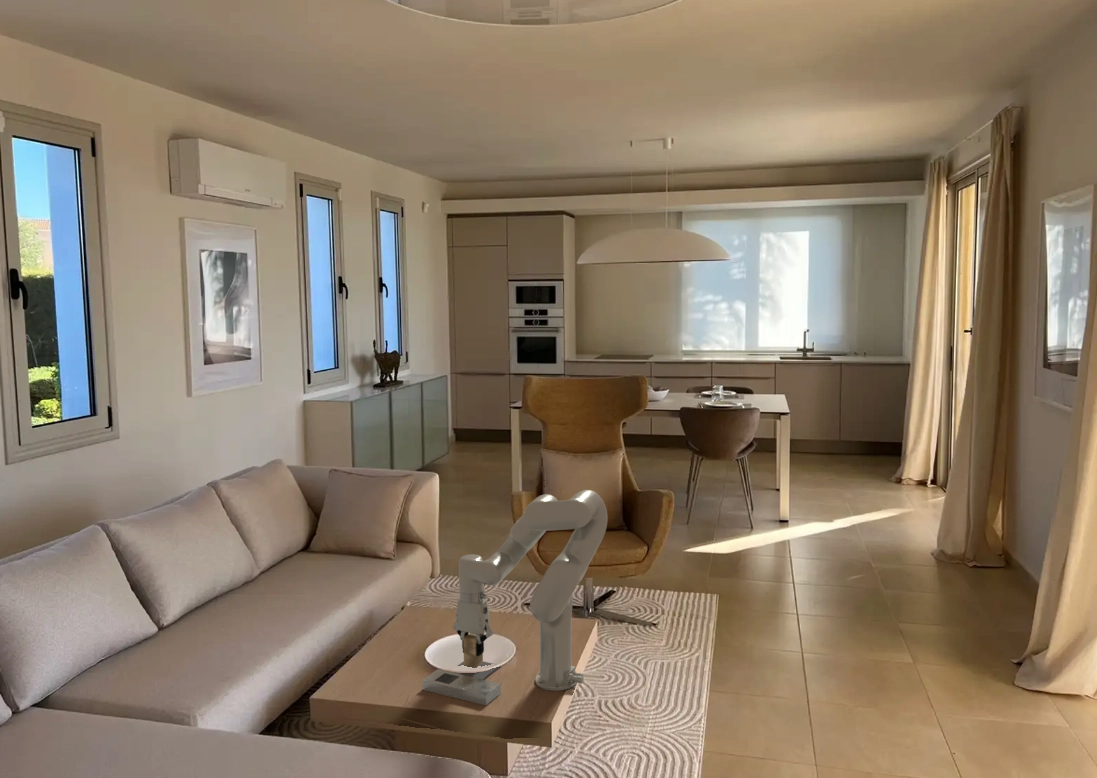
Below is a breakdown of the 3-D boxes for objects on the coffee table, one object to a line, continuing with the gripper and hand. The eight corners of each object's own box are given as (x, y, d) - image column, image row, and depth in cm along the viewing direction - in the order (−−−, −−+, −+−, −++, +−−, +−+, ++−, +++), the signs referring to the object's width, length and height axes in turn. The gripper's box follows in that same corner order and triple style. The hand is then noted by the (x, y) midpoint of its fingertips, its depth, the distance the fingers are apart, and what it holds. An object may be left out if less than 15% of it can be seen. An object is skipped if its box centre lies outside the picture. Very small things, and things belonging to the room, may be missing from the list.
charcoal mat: (500, 667, 262) (500, 665, 262) (480, 683, 252) (479, 681, 251) (468, 659, 268) (468, 658, 268) (446, 675, 257) (446, 673, 257)
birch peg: (482, 662, 260) (482, 635, 259) (475, 668, 257) (474, 640, 256) (471, 660, 262) (470, 632, 261) (464, 665, 258) (463, 637, 257)
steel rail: (500, 693, 245) (500, 683, 244) (486, 705, 238) (486, 695, 237) (438, 678, 255) (438, 669, 255) (422, 689, 248) (422, 680, 248)
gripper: (501, 596, 256) (502, 653, 258) (455, 587, 264) (457, 643, 266) (488, 604, 250) (490, 663, 252) (442, 595, 257) (443, 652, 259)
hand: (473, 652), depth 259 cm, fingers closed on birch peg, 4 cm apart
